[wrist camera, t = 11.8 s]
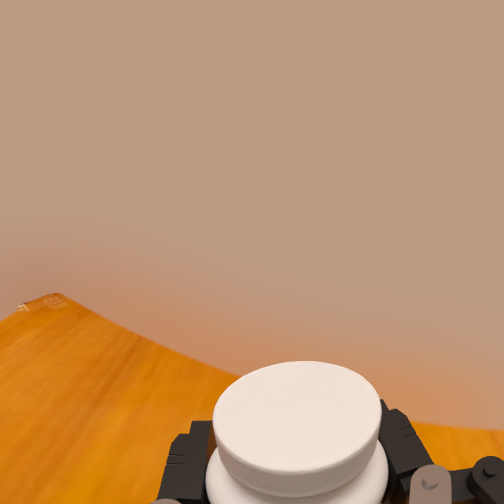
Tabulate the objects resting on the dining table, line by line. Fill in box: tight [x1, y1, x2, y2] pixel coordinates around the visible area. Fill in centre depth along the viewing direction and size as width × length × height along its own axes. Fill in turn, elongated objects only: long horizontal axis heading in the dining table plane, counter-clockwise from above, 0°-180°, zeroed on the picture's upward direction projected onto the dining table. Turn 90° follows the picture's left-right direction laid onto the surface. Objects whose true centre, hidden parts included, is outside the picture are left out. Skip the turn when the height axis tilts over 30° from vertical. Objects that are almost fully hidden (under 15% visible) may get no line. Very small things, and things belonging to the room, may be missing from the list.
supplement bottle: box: [206, 361, 388, 504], centre depth 7 cm, size 5×5×10 cm
